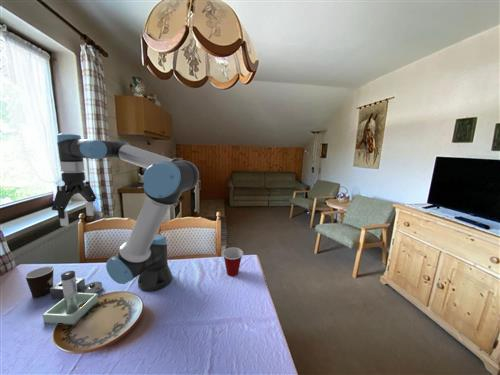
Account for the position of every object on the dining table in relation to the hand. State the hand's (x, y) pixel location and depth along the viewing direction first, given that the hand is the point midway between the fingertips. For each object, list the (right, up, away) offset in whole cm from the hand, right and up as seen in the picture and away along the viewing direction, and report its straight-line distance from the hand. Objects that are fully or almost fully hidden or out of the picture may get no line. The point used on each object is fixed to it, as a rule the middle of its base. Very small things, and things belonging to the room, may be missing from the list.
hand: (78, 220), depth 92 cm
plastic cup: (+66, -31, +19) cm, 75 cm away
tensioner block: (-4, -32, 0) cm, 32 cm away
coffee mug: (-15, -32, +1) cm, 35 cm away
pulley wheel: (+5, -32, +2) cm, 32 cm away
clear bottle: (+6, -33, -10) cm, 35 cm away
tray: (+6, -34, -10) cm, 36 cm away
